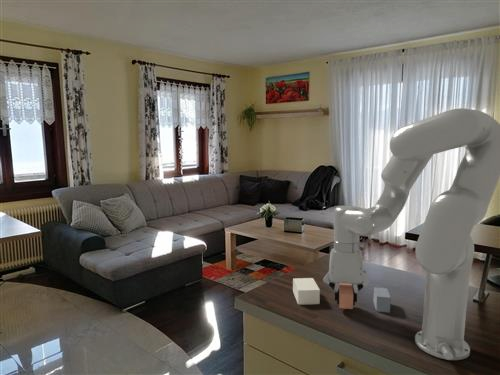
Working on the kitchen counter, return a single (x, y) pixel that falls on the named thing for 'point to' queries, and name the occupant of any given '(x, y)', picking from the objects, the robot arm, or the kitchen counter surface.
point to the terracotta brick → (345, 296)
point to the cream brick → (306, 291)
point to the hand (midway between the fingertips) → (345, 302)
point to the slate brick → (382, 300)
